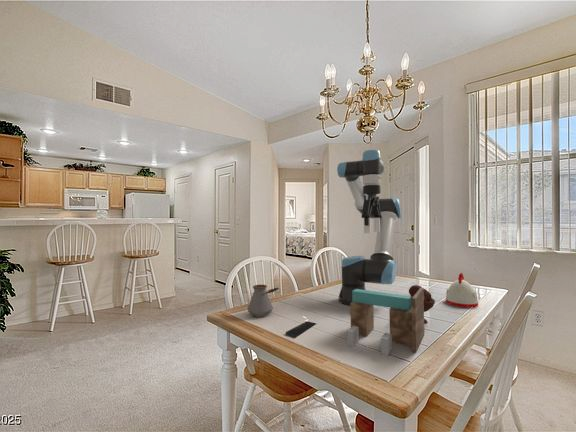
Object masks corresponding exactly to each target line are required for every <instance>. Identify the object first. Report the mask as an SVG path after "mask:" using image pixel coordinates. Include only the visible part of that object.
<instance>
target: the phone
mask: <svg viewBox="0 0 576 432" xmlns="http://www.w3.org/2000/svg"><path fill="white" fill-rule="evenodd" d="M316 325H317V323H315V322H313V321H304V322H303V323H301V324H299V325H297V326H294V327H293V328H291V329H289V330H286V331H285V336H288V337H291V338H294V339H296V338H298V337H299V336H301V335H302V334H304V333H305V332H307V331H308V330H310V329H311V328H313V327H314V326H316Z"/></svg>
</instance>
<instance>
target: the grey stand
mask: <svg viewBox="0 0 576 432" xmlns="http://www.w3.org/2000/svg"><path fill="white" fill-rule="evenodd" d="M359 336H360V335H359V327H357V326H352V327H351V326H350V328H349V329H348V330H347V347H351V348H355V346H356V345H357V344H358V343H359V341H360V338H359ZM392 346H393V342H392V334H390V332H384V333H383V334H382V336H381V337H380V354H381V355H383V356H387V357H388V356H389V354H390V353H391V351H393V347H392Z"/></svg>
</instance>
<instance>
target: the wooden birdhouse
mask: <svg viewBox="0 0 576 432" xmlns="http://www.w3.org/2000/svg"><path fill="white" fill-rule="evenodd" d="M424 289H425V287H422V288H420V289H419V290H418V291H417V293H416V294H415V295H414V296H413V297H412V308H411V309H410V311H408V310H407V311H402V310H401V309H395V308H389V333H390V334H392V344H393V343H394V344H397V345H402V346H407V347H411V348H412V353H415V354H416V353H418V350H419V348H420V346H421V343H422V342H423V339H424V337H425V324H424V319H425V312H424Z"/></svg>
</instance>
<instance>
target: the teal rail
mask: <svg viewBox="0 0 576 432" xmlns="http://www.w3.org/2000/svg"><path fill="white" fill-rule="evenodd" d="M352 302H357V303H363V304H370V305H373V306H378V307H384V308H389V309H390V308H395V309H401V310H402V311H407V310H408V311H410V309H411V308H412V296H411V295H407V294H398V293H391V292H382V291H376V290H369V289H366V290H361V289H355V290H353V291H352Z"/></svg>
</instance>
